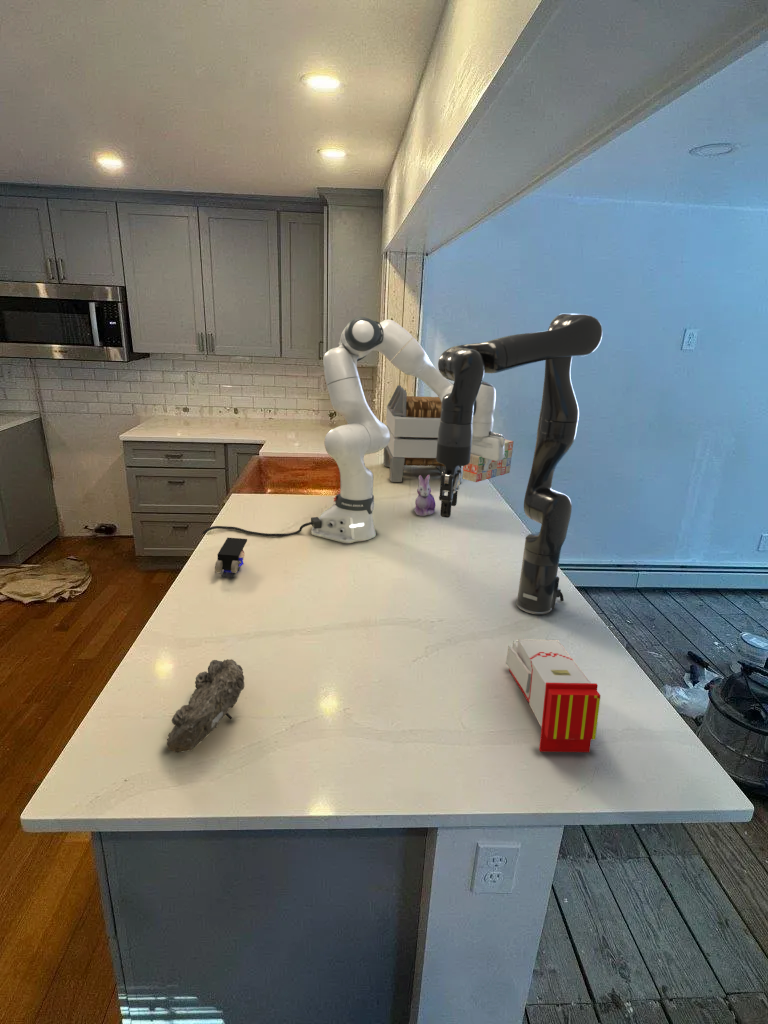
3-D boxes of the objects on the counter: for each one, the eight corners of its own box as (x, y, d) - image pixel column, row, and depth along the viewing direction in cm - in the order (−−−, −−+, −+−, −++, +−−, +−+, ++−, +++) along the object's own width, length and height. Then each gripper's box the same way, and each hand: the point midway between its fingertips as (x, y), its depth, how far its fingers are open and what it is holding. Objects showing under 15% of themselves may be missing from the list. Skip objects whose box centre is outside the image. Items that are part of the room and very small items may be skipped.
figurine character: (238, 584, 162) (249, 557, 175) (236, 562, 158) (247, 536, 172) (215, 584, 161) (227, 556, 175) (212, 561, 158) (225, 535, 171)
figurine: (420, 518, 216) (423, 480, 210) (407, 509, 224) (409, 473, 219) (441, 515, 220) (444, 477, 215) (427, 506, 228) (430, 470, 223)
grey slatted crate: (382, 463, 289) (386, 382, 275) (445, 464, 293) (451, 384, 279) (390, 482, 257) (394, 392, 243) (460, 483, 261) (468, 394, 247)
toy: (554, 622, 128) (610, 691, 98) (548, 677, 130) (601, 759, 101) (501, 621, 127) (541, 690, 98) (496, 676, 130) (534, 758, 101)
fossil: (192, 660, 117) (244, 628, 112) (224, 691, 120) (276, 661, 115) (142, 746, 98) (202, 712, 93) (182, 779, 101) (242, 748, 96)
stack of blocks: (476, 483, 197) (479, 448, 193) (461, 479, 201) (464, 445, 197) (510, 472, 212) (514, 440, 208) (495, 469, 216) (499, 437, 212)
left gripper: (510, 433, 191) (505, 473, 196) (461, 423, 204) (458, 460, 209) (499, 435, 187) (495, 476, 191) (451, 425, 200) (447, 463, 205)
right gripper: (466, 450, 118) (460, 523, 123) (475, 437, 130) (469, 503, 136) (431, 446, 119) (426, 518, 125) (443, 433, 132) (438, 499, 138)
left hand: (475, 468), depth 200 cm, fingers closed on stack of blocks, 6 cm apart
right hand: (448, 510), depth 130 cm, fingers open, 8 cm apart
